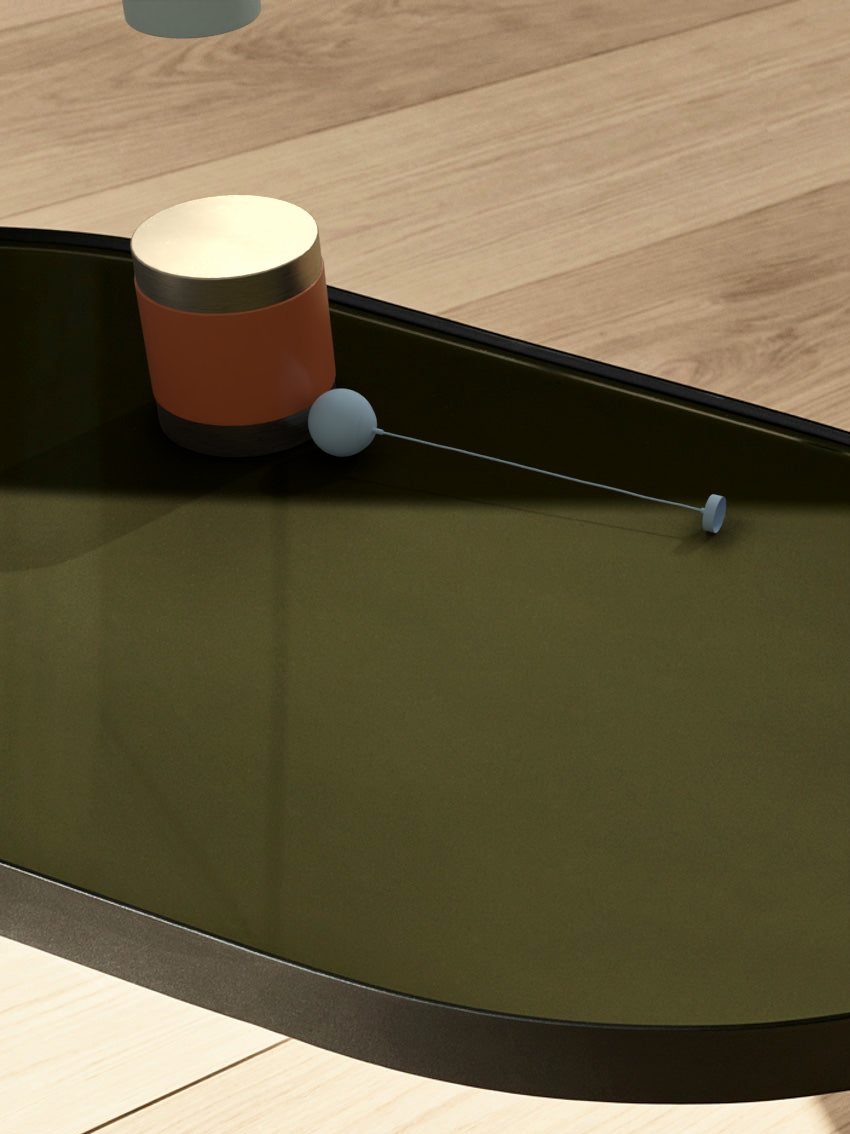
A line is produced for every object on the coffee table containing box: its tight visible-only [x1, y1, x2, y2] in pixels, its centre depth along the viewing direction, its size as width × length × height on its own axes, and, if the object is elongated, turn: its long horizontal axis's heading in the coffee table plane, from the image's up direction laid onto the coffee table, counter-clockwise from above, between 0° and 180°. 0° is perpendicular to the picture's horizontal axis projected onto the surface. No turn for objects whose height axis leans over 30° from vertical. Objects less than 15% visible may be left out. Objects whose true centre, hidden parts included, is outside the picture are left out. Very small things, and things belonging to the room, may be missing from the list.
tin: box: [129, 194, 337, 458], centre depth 106 cm, size 9×9×9 cm
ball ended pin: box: [308, 388, 727, 534], centre depth 103 cm, size 3×20×3 cm, turn 69°
